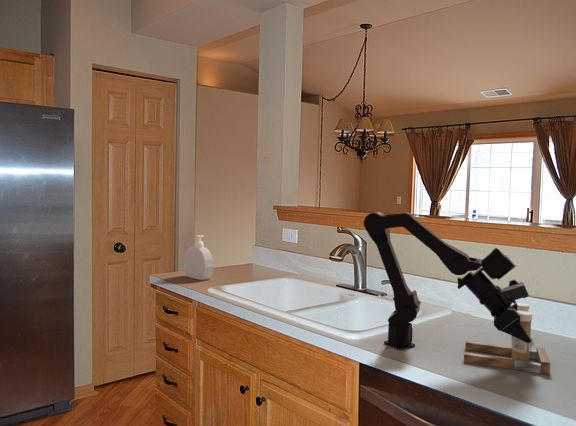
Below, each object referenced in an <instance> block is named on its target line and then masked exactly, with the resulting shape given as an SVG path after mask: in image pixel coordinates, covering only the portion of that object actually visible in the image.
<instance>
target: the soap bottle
mask: <svg viewBox="0 0 576 426" xmlns="http://www.w3.org/2000/svg"><path fill="white" fill-rule="evenodd" d="M204 237H205V235H204V234H200V235H198V234H197V235H196V241H195V242H194V243H193V246H191V247H189V248H188V249H187V251H186V252H185V256H184V261H183V265H184V266H183V268H184V272H185V276H186V277H187V278H191V279H194V280H198V281H207V280H210V279H211V277H212V275H213V272H214V266H215V265H214V259H213V256H212V253H211V251H210V250H209V249H208V248H207V247H204V245H205V244H204V242H203V241H202V238H204Z"/></svg>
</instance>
